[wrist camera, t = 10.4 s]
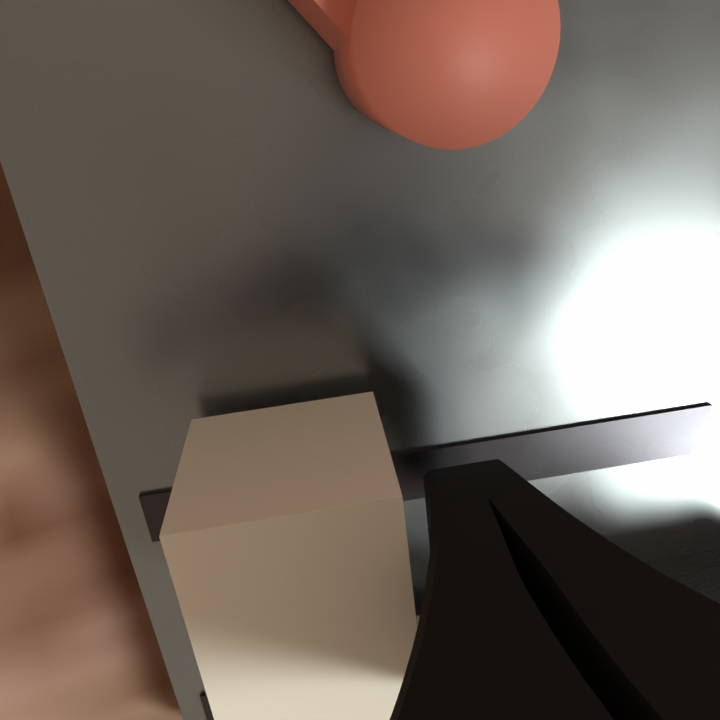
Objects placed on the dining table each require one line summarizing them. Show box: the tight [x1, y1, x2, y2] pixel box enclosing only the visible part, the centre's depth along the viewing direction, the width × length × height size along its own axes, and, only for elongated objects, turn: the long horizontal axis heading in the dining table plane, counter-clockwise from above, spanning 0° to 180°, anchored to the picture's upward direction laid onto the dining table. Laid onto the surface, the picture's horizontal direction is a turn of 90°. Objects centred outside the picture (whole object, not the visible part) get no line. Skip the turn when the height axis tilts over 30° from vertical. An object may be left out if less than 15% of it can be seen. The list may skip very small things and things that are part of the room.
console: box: [0, 0, 720, 720], centre depth 10 cm, size 14×26×4 cm, turn 7°
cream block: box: [159, 391, 417, 720], centre depth 10 cm, size 3×4×3 cm
